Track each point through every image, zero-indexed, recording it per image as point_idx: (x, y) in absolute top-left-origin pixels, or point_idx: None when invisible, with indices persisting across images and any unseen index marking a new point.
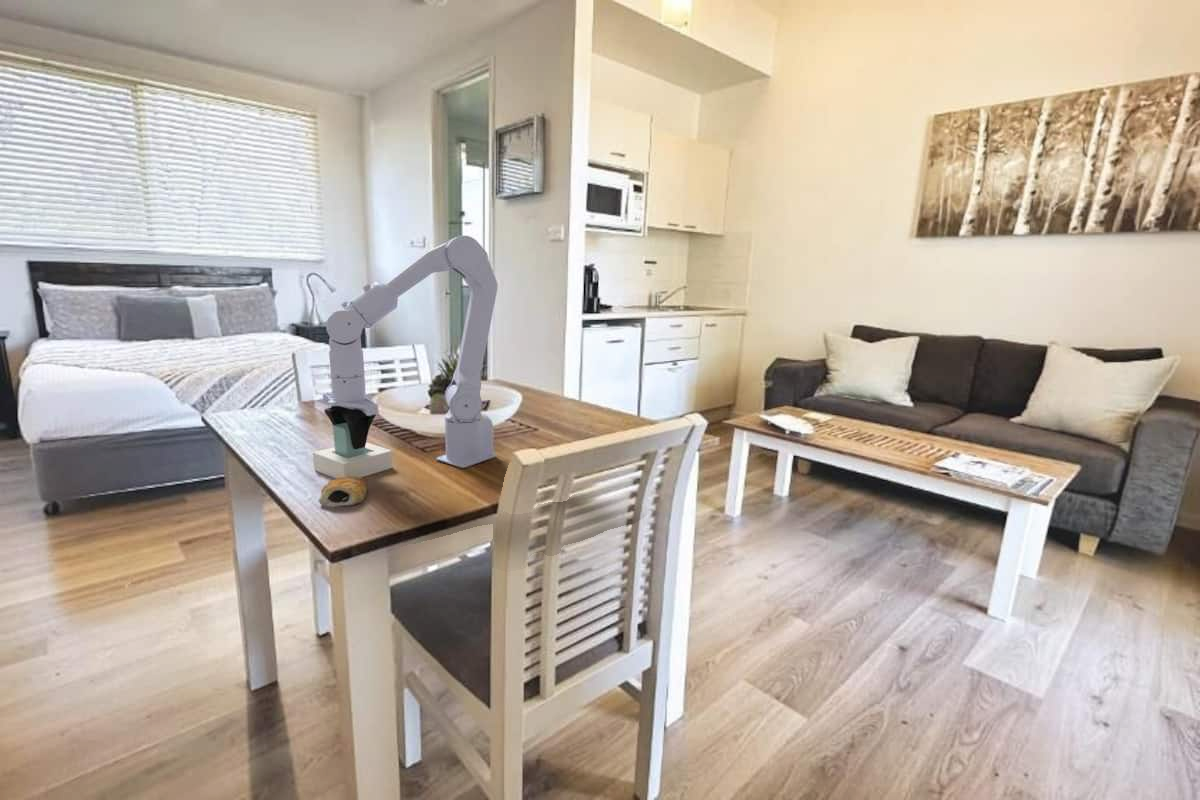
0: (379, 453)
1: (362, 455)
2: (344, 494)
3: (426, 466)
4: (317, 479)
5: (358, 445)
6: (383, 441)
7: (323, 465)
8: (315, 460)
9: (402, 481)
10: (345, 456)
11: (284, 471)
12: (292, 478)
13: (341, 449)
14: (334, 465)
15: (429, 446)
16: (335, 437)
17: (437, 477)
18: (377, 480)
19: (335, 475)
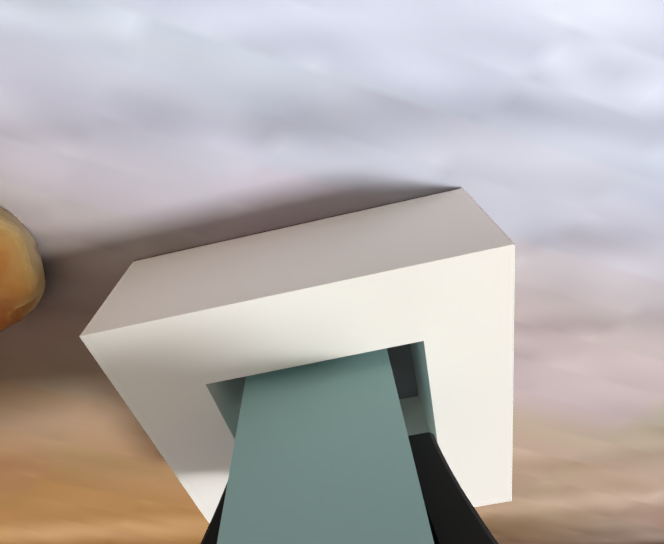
0: (208, 509)
1: (217, 451)
2: None
3: (188, 532)
4: (276, 150)
5: None
6: (593, 512)
7: (354, 238)
8: (463, 223)
9: (37, 442)
10: (261, 383)
11: (602, 3)
12: (405, 6)
13: (306, 409)
14: (210, 286)
15: None
16: (390, 476)
17: (38, 526)
18: (96, 380)
19: (221, 250)
